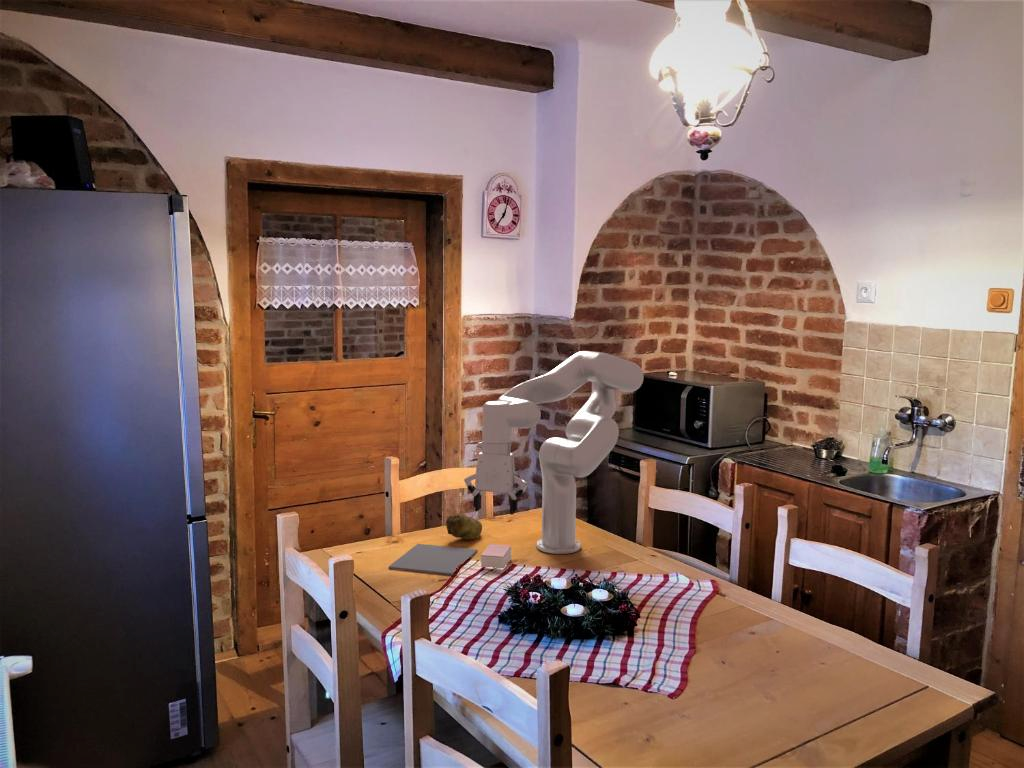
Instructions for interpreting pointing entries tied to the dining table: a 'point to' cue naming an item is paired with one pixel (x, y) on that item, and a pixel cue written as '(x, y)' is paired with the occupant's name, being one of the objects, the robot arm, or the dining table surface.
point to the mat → (433, 559)
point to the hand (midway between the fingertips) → (495, 511)
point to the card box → (496, 556)
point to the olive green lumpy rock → (463, 526)
